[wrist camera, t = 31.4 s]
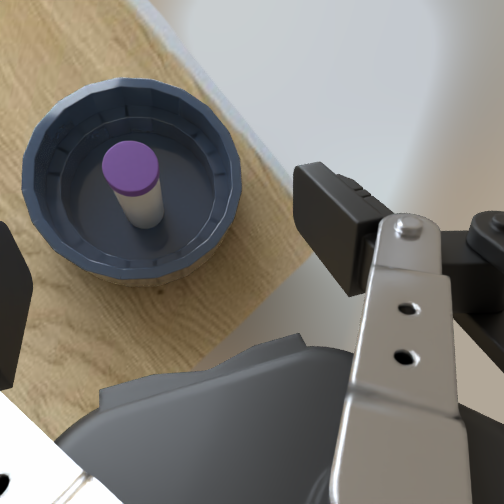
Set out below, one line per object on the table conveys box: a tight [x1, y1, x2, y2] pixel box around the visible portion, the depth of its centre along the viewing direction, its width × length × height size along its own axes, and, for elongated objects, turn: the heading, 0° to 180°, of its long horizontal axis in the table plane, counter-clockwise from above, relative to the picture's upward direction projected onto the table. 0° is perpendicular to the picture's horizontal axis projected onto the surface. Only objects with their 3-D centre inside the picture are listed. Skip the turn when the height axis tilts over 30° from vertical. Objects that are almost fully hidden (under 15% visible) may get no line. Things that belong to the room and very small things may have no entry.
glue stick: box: [102, 141, 164, 229], centre depth 29 cm, size 3×3×10 cm
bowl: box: [21, 78, 242, 287], centre depth 32 cm, size 16×16×6 cm
